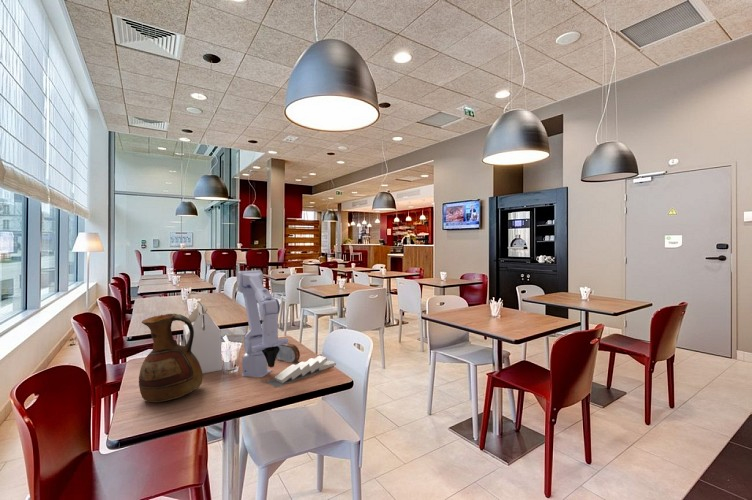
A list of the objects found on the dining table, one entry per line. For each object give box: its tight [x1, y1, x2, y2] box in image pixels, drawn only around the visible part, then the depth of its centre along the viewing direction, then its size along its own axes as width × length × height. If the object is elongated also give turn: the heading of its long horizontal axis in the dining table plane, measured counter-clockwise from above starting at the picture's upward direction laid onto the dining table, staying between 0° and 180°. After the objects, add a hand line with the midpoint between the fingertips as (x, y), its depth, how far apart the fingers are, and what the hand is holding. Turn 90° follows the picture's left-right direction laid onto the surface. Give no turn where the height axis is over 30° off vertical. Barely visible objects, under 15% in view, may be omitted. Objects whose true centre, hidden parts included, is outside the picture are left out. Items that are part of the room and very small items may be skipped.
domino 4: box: [309, 354, 328, 373], centre depth 154 cm, size 2×5×9 cm
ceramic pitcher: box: [138, 313, 204, 403], centre depth 131 cm, size 20×20×30 cm
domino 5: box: [317, 359, 337, 370], centre depth 157 cm, size 2×5×9 cm
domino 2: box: [289, 361, 310, 380], centre depth 147 cm, size 2×5×9 cm
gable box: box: [182, 301, 223, 374], centre depth 163 cm, size 22×13×28 cm, turn 31°
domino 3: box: [300, 357, 319, 376], centre depth 151 cm, size 2×5×9 cm
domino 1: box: [274, 363, 301, 383], centre depth 144 cm, size 2×5×9 cm
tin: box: [276, 342, 301, 364], centre depth 167 cm, size 15×3×8 cm, turn 58°
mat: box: [265, 369, 325, 388], centre depth 147 cm, size 23×8×1 cm, turn 137°
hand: (271, 366), depth 138 cm, fingers closed
